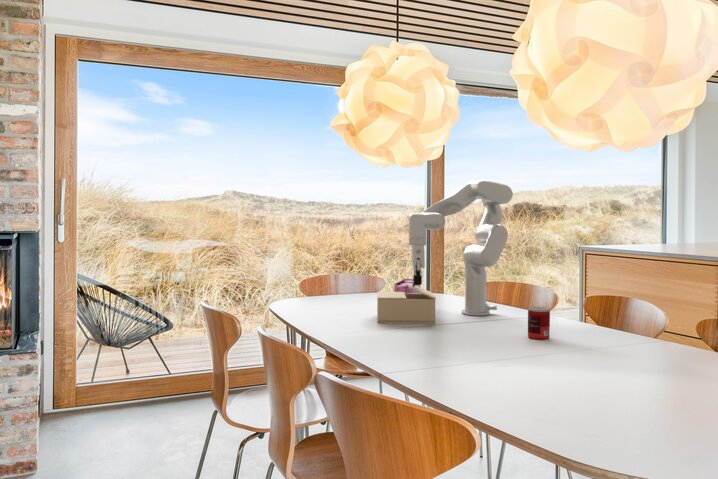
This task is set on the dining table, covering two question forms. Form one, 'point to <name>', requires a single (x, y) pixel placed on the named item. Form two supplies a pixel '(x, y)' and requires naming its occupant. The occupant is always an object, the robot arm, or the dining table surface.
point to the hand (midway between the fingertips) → (417, 283)
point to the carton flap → (420, 290)
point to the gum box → (405, 287)
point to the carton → (405, 308)
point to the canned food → (538, 323)
